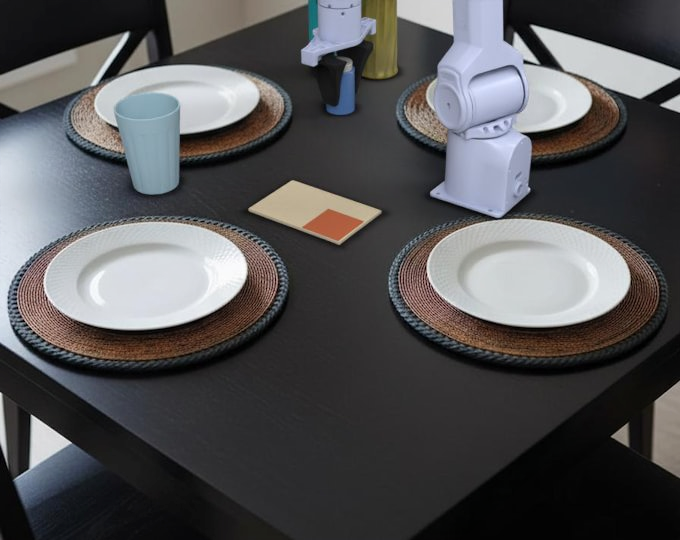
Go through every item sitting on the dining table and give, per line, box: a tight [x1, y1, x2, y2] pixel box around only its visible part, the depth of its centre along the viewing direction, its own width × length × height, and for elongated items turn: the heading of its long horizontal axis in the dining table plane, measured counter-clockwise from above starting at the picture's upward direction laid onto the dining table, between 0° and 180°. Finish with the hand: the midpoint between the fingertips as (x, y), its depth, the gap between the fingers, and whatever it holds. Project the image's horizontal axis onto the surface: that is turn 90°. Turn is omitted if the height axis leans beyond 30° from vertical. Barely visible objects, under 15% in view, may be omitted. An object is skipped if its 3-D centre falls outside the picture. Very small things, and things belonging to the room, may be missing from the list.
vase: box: [361, 0, 399, 80], centre depth 152 cm, size 6×6×14 cm
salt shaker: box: [325, 57, 356, 116], centre depth 143 cm, size 4×4×7 cm
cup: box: [113, 91, 181, 196], centre depth 125 cm, size 8×8×10 cm
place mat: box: [248, 179, 382, 246], centre depth 121 cm, size 13×8×1 cm, turn 54°
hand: (340, 98), depth 144 cm, fingers closed on salt shaker, 4 cm apart
